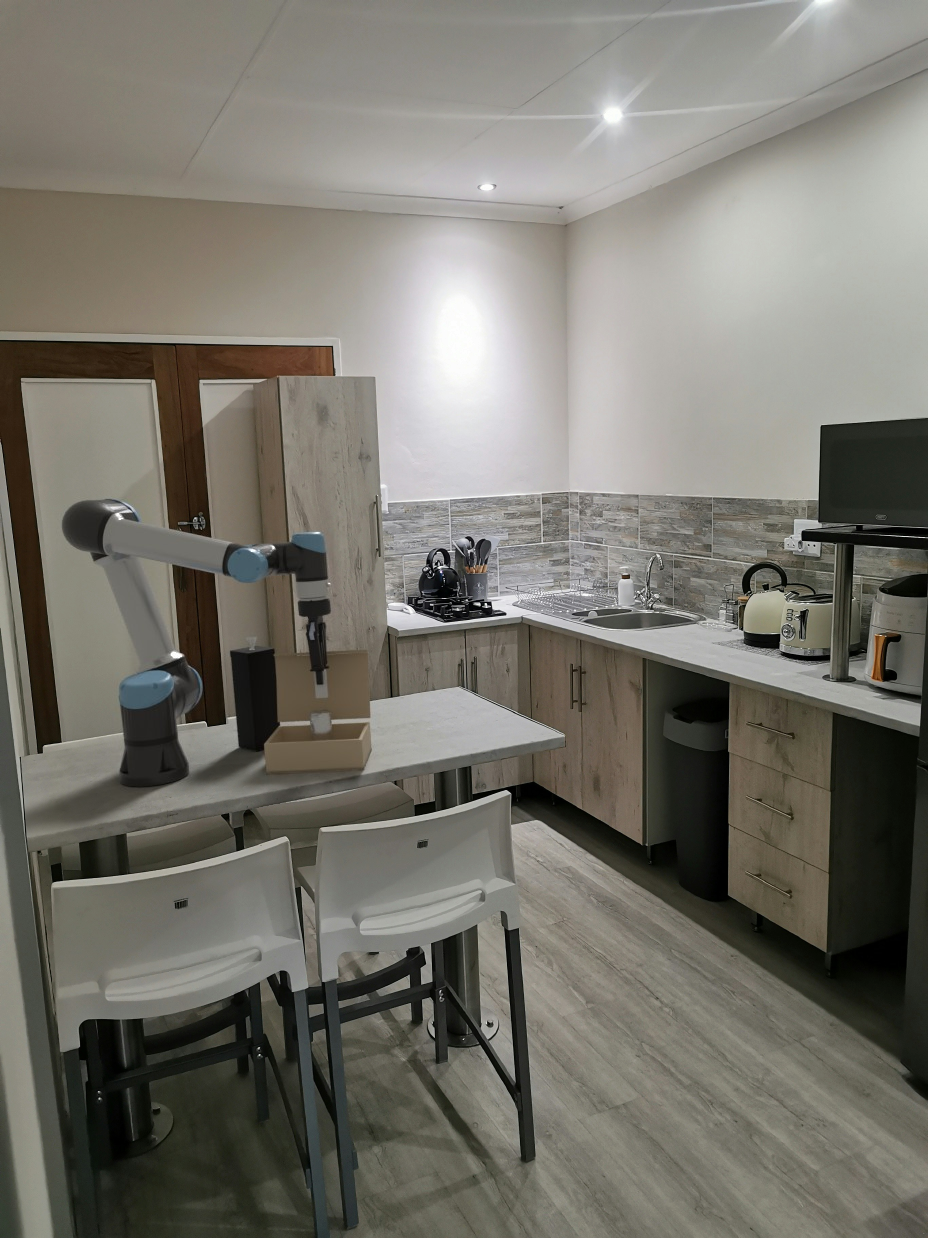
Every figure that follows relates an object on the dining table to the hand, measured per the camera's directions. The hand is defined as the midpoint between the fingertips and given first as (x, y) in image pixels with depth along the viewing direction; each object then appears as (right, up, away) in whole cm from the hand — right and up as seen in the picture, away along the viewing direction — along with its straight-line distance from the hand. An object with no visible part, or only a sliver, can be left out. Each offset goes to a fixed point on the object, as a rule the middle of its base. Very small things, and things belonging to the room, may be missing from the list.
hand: (322, 697), depth 218 cm
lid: (-1, +2, +2) cm, 3 cm away
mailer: (0, -15, -3) cm, 15 cm away
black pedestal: (-18, -14, +13) cm, 26 cm away
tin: (0, -14, +1) cm, 14 cm away
